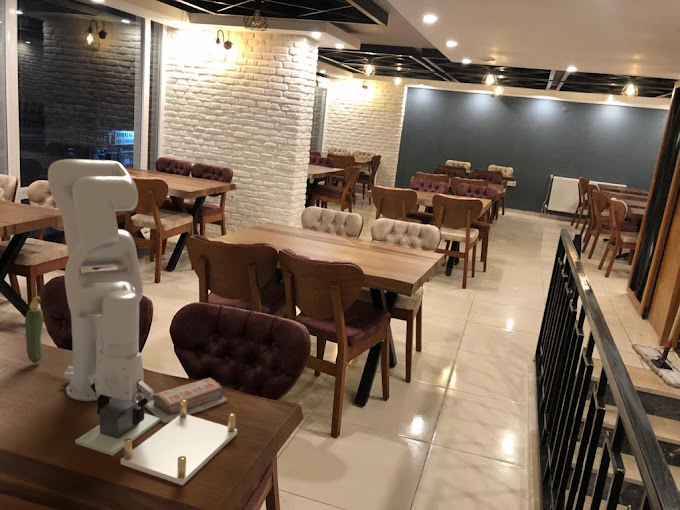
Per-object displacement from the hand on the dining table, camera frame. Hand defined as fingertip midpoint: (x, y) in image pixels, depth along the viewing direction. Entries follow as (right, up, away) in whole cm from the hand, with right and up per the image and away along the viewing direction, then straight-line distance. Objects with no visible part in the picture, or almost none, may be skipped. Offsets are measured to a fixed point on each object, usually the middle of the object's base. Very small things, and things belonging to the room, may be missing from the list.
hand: (120, 417), depth 125 cm
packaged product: (+11, -2, +16) cm, 19 cm away
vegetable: (-35, +6, +29) cm, 46 cm away
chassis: (+15, -6, -3) cm, 16 cm away
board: (-1, -4, +1) cm, 4 cm away
